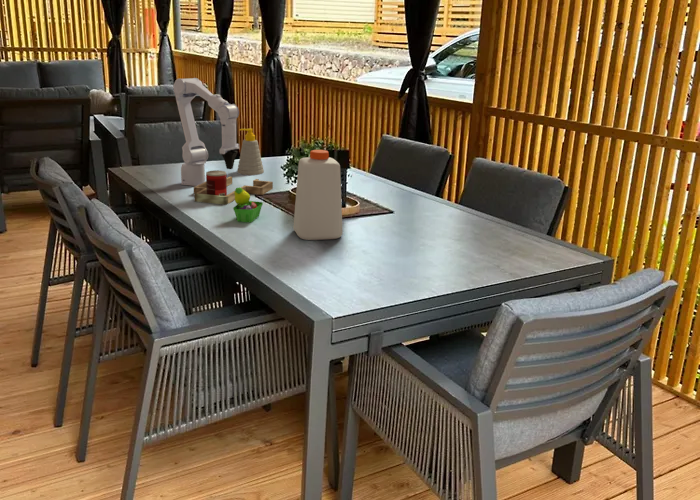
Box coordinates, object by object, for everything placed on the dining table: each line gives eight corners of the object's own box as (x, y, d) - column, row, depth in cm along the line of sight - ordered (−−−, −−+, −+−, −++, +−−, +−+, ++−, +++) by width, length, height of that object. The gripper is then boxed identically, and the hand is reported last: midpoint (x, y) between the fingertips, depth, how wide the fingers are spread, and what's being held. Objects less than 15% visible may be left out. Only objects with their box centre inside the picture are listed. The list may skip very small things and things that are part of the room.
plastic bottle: (299, 241, 214) (301, 155, 205) (291, 228, 227) (292, 147, 218) (345, 239, 218) (348, 155, 209) (333, 226, 231) (336, 146, 222)
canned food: (228, 198, 264) (228, 170, 260) (224, 202, 256) (223, 175, 253) (209, 197, 264) (209, 169, 261) (204, 201, 257) (203, 174, 253)
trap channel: (182, 200, 258) (182, 192, 257) (218, 182, 289) (218, 175, 288) (244, 206, 252) (244, 198, 251) (274, 187, 284) (274, 180, 283)
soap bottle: (234, 170, 314) (233, 127, 308) (259, 169, 319) (259, 126, 313) (241, 175, 303) (240, 131, 297) (267, 174, 308) (267, 130, 302)
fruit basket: (253, 224, 231) (252, 192, 227) (229, 221, 232) (228, 190, 229) (263, 215, 241) (263, 185, 238) (240, 213, 243) (240, 183, 239)
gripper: (231, 138, 258) (231, 173, 262) (245, 133, 271) (245, 166, 275) (214, 137, 259) (215, 171, 264) (229, 132, 273) (229, 164, 277)
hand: (229, 168), depth 270 cm, fingers closed
